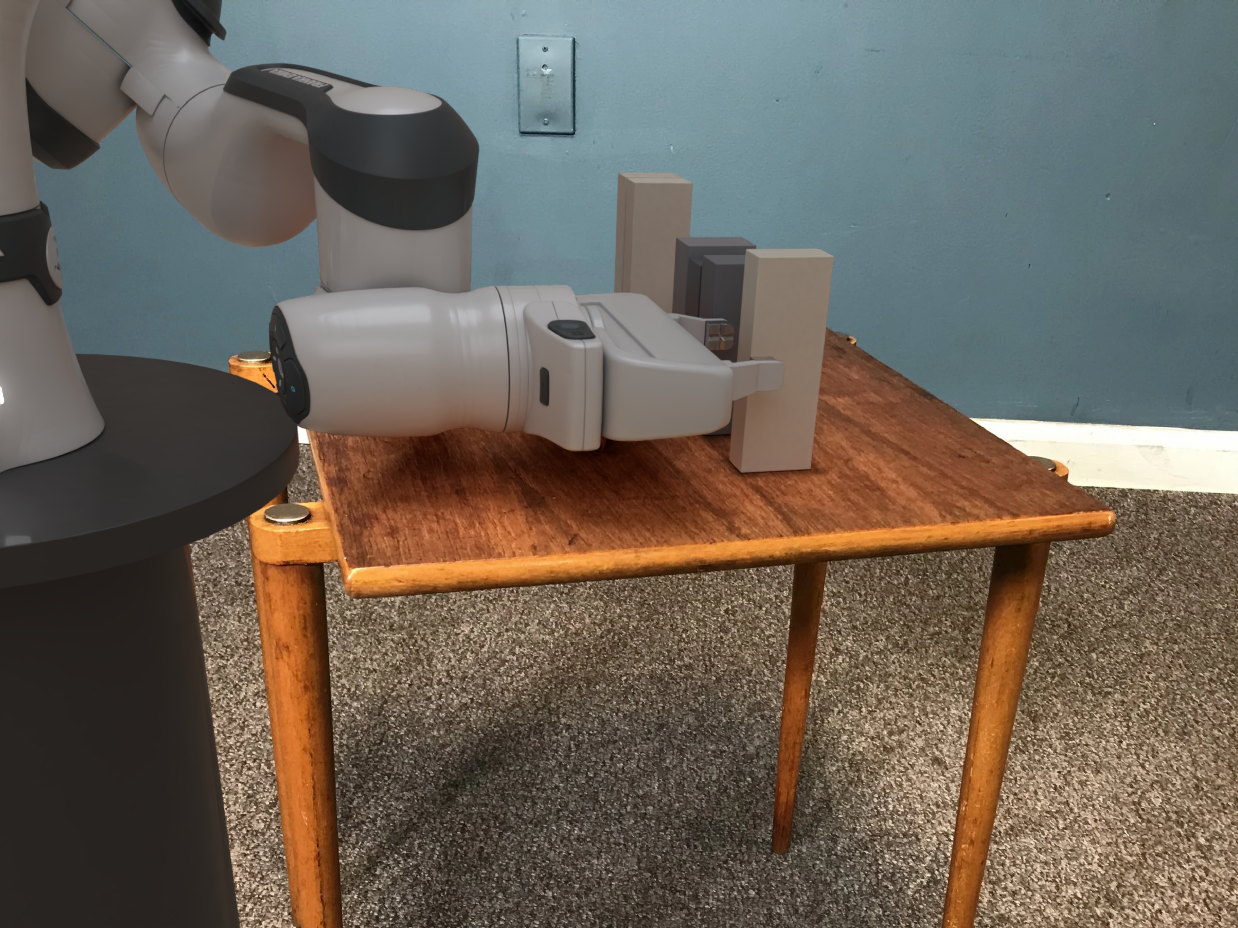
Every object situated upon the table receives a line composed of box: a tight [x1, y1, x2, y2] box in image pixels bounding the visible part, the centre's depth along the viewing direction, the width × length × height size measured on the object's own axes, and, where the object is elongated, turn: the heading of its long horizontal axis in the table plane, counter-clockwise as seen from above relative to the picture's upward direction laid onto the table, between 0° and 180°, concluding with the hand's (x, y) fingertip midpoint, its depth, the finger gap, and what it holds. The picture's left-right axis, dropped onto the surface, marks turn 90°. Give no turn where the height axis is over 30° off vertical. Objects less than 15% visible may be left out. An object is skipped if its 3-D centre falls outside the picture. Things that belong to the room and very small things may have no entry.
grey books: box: [672, 236, 757, 436], centre depth 93 cm, size 5×10×12 cm, turn 15°
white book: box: [728, 248, 835, 474], centre depth 83 cm, size 5×2×14 cm, turn 105°
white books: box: [613, 171, 694, 313], centre depth 106 cm, size 6×13×14 cm, turn 15°
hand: (754, 352), depth 82 cm, fingers open, 8 cm apart
